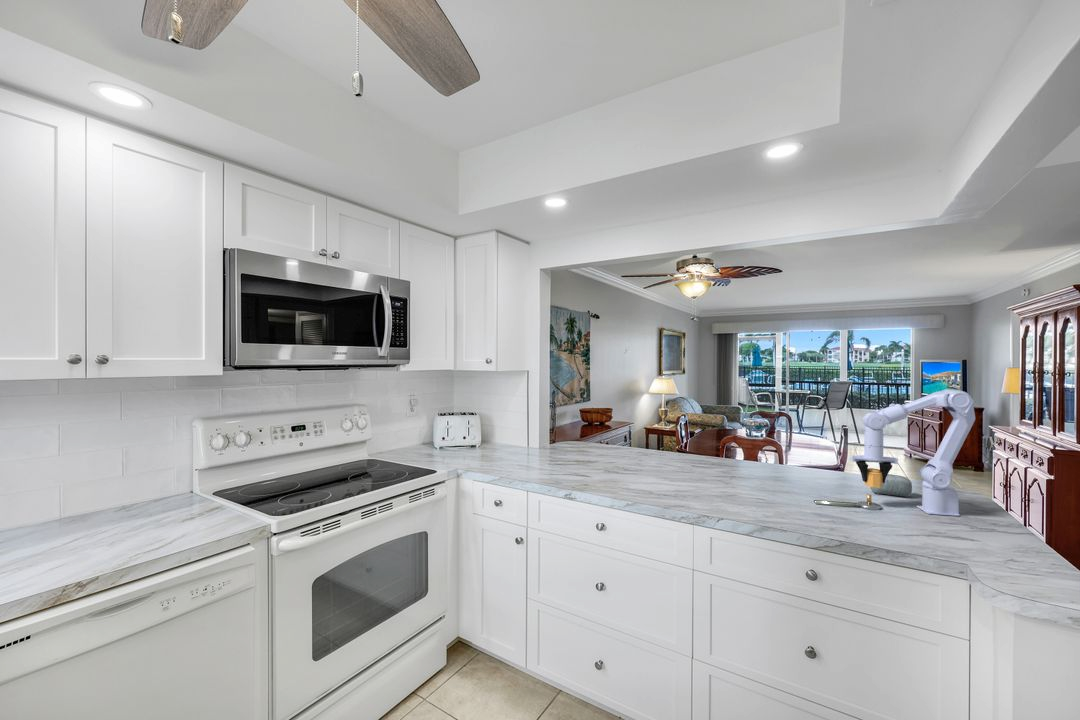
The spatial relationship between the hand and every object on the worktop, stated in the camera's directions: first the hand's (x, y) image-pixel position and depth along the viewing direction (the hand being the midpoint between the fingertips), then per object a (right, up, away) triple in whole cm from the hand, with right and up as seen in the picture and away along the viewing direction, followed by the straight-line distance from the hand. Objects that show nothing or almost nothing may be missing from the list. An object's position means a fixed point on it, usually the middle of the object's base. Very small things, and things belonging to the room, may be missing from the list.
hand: (873, 481), depth 171 cm
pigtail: (-9, -9, +1) cm, 13 cm away
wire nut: (0, -2, 0) cm, 2 cm away
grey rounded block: (+16, -9, +13) cm, 23 cm away
